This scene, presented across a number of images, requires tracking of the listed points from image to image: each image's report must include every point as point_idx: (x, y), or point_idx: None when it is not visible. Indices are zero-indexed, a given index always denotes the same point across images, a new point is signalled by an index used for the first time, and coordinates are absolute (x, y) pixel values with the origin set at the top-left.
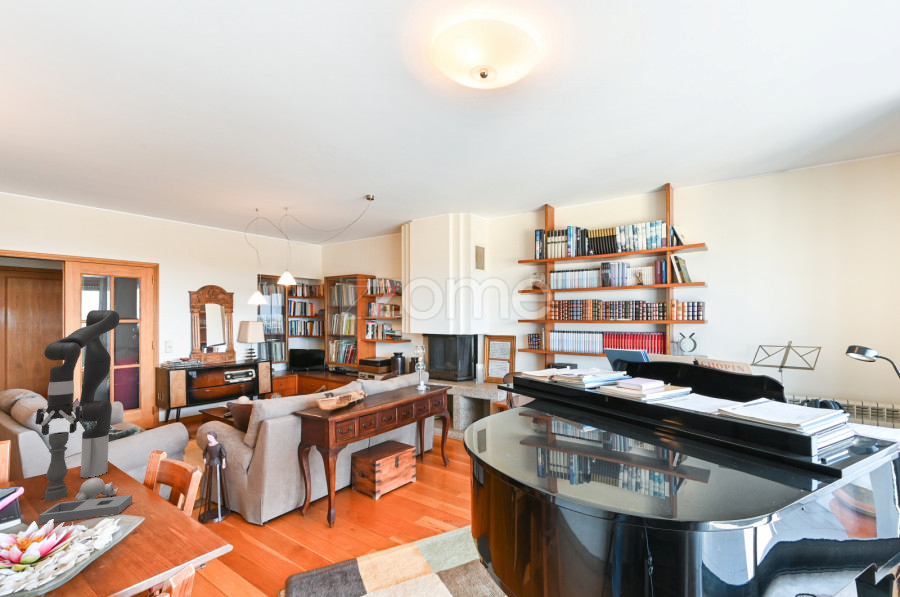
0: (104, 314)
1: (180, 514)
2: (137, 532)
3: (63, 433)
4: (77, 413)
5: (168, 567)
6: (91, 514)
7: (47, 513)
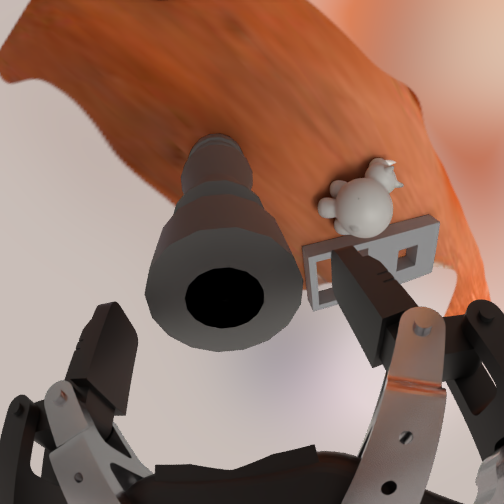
0: None
1: (481, 262)
2: (448, 306)
3: (273, 297)
4: (492, 435)
5: None
6: None
7: (325, 304)
